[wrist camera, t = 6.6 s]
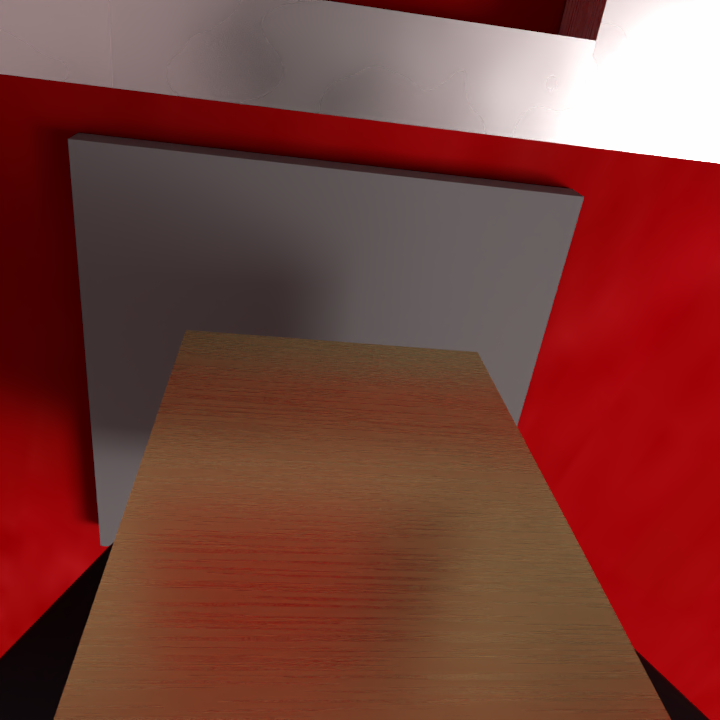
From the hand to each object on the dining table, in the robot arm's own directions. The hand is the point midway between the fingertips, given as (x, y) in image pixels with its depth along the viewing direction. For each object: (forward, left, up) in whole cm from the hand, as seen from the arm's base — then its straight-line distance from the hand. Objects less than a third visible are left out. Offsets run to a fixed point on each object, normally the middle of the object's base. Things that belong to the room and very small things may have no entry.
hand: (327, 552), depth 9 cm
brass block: (0, 0, -2) cm, 2 cm away
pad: (0, 0, -5) cm, 5 cm away
